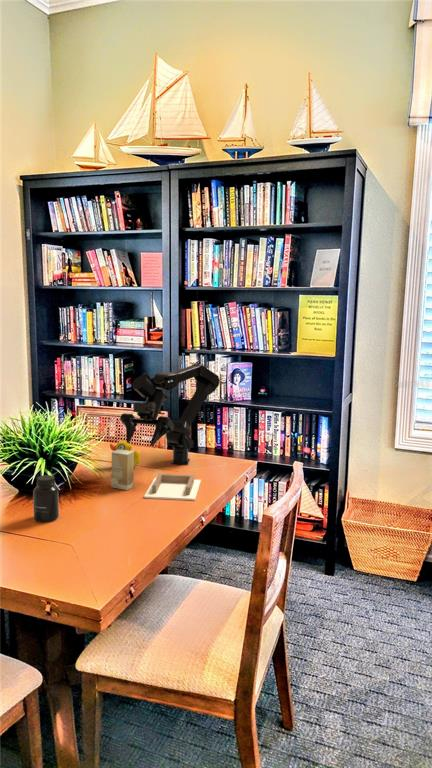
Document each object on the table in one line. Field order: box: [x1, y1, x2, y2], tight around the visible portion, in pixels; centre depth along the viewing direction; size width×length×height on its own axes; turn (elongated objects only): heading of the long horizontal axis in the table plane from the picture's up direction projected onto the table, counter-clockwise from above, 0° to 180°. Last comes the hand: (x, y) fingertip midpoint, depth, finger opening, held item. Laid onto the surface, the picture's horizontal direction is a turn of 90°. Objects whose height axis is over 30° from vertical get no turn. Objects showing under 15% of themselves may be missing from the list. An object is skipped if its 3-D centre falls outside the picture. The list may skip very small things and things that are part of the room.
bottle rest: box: [143, 473, 202, 501], centre depth 182 cm, size 18×16×3 cm
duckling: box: [109, 440, 142, 467], centre depth 203 cm, size 11×5×10 cm, turn 86°
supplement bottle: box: [32, 474, 60, 524], centre depth 156 cm, size 7×7×12 cm
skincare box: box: [110, 449, 135, 491], centre depth 182 cm, size 6×4×12 cm
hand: (139, 444), depth 188 cm, fingers open, 9 cm apart
